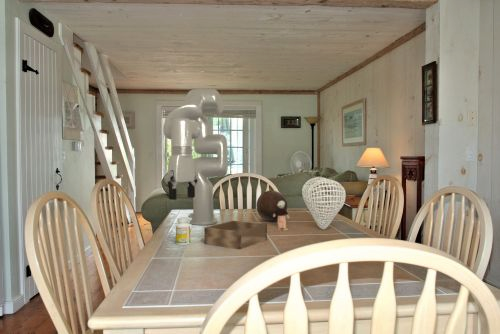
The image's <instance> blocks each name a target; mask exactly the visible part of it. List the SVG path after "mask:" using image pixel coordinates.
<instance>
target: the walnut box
mask: <svg viewBox="0 0 500 334" xmlns="http://www.w3.org/2000/svg"><path fill="white" fill-rule="evenodd" d="M203 229H204V230H203V231H204V244H205V245H210V246H216V247H223V248H229V249H235V250H242V249H245V248H247V246H248V247H250V245H251V246H253V245H255V244H258V243H259V244H260V243H261V242H264V241H265V242H266V241H267V240H268V224H267V223H259V222H250V221H242V220H240V221H239V220H230V221H225V222H221V223H218V224H213V225H209V226H206V227H204V228H203Z"/></svg>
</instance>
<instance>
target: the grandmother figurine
mask: <svg viewBox="0 0 500 334" xmlns="http://www.w3.org/2000/svg"><path fill="white" fill-rule="evenodd" d="M284 205H285V202H284V201H279V202H278V204H277V206H278V207H279V208H280V209H277V210H276V211H275V212H274V215H273V217H275V215H277V214H278V220H277V231H289V229H288V228H287V220H286V218H287V219H290V216H289V213H288V210H285V209H283V208H284Z"/></svg>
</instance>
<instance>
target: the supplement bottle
mask: <svg viewBox="0 0 500 334" xmlns="http://www.w3.org/2000/svg"><path fill="white" fill-rule="evenodd" d="M190 243H191V223H190V222H189V217H184V216H182V217H178V218H177V223H176V225H175V244H176V245H177V246H187V245H190Z"/></svg>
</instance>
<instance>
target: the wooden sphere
mask: <svg viewBox="0 0 500 334" xmlns="http://www.w3.org/2000/svg"><path fill="white" fill-rule="evenodd" d="M279 201H284V202H285V205H284V208H283V209H285V210H286V211H288V201H287V199H286V197H285V196H284V194H282V193H281V192H280V191H278V190H277V191H276V190H272V189H271V190H266V191H264V192H262V193H261V194H260V195H259V197H258V198H257V200H256V206H255V207H256V210H257V214H258V215H259V216H260V217H261V218H262V219H263V220H265V221H267V222H275V221H276V222H277V221H278V214H277V215H275V217H273V215H274V212H275V211H276V210H277V209H280V208H279V207H278V206H277V204H278V202H279Z"/></svg>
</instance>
